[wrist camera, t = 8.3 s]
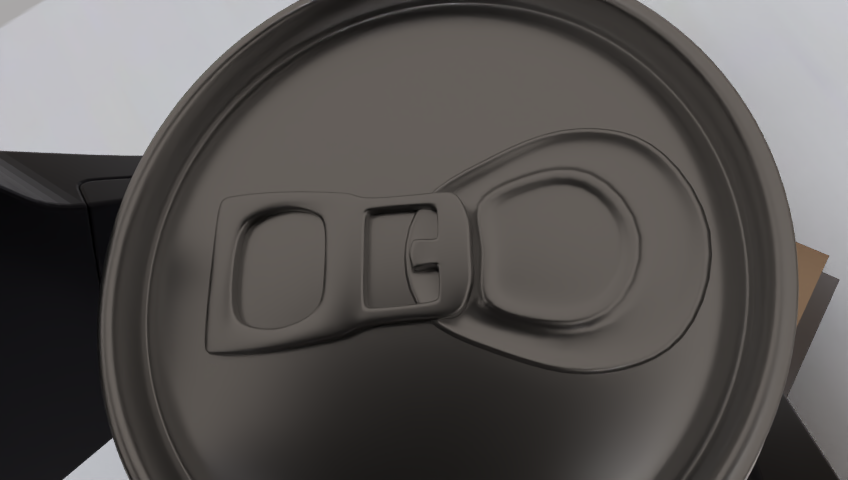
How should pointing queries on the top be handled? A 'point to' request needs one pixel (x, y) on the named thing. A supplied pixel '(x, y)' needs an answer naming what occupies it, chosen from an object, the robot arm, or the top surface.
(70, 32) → the top surface
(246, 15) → the top surface
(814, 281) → the socket holder
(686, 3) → the top surface
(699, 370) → the can
